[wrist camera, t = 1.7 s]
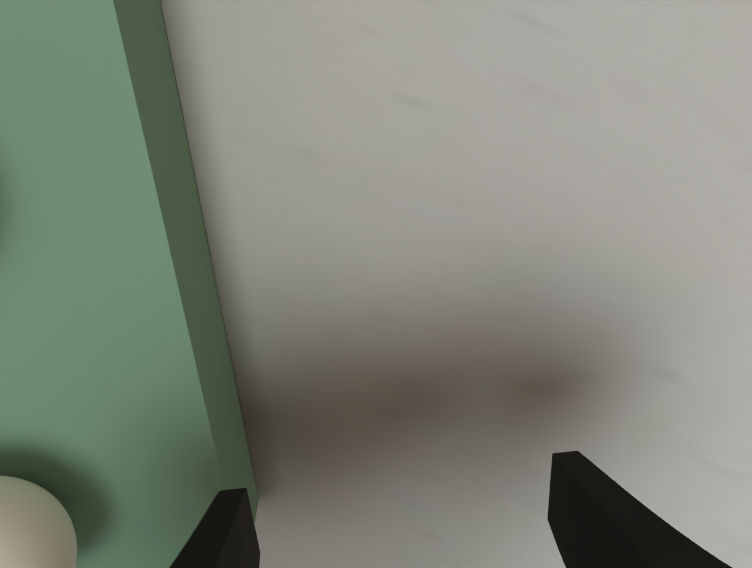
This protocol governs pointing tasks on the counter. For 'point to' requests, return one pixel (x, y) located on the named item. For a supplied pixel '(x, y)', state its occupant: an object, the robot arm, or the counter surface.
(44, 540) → the ivory ball
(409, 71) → the counter surface
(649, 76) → the counter surface
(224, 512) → the robot arm
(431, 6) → the counter surface
